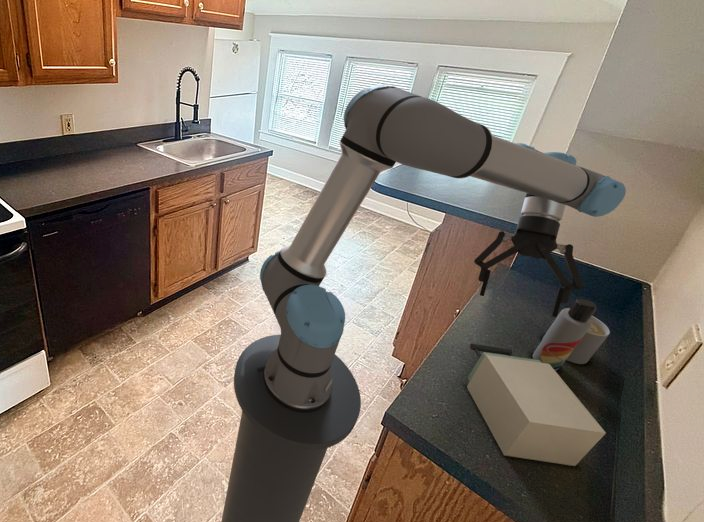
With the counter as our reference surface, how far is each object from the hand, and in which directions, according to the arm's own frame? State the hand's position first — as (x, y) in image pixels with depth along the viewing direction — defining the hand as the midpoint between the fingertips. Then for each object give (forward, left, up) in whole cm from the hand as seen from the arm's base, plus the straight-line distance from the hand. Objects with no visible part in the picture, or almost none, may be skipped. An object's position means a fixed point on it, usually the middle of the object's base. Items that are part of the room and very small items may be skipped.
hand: (516, 305), depth 88 cm
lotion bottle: (+14, +8, -17) cm, 24 cm away
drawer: (+3, -12, -16) cm, 21 cm away
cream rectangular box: (+5, -17, -17) cm, 25 cm away
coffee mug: (+20, +19, -17) cm, 33 cm away
